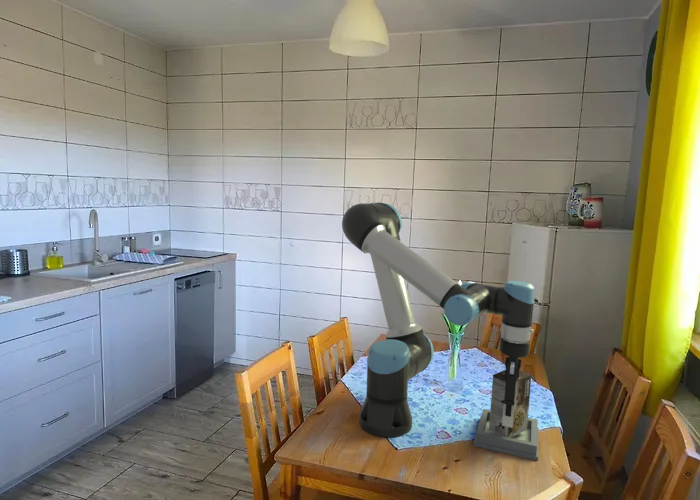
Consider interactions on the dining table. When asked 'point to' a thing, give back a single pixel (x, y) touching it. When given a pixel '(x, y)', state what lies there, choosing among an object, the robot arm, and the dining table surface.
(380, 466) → the dining table surface
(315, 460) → the dining table surface
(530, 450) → the tray
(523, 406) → the coffee box
